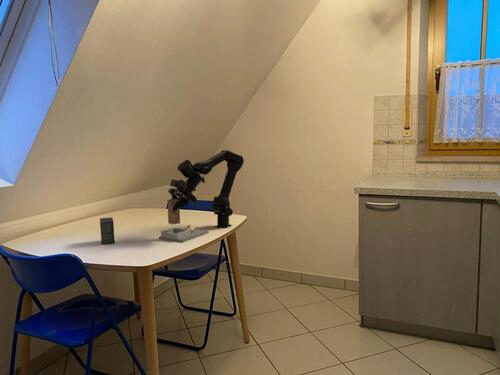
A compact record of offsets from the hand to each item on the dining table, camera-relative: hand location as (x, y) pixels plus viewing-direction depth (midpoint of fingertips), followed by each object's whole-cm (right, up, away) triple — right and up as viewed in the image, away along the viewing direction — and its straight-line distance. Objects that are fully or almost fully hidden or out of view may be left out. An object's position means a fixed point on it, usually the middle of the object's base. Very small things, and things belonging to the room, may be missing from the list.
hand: (171, 209), depth 192 cm
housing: (+5, -13, +6) cm, 15 cm away
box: (-28, -15, -4) cm, 32 cm away
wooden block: (+1, -6, +2) cm, 7 cm away
